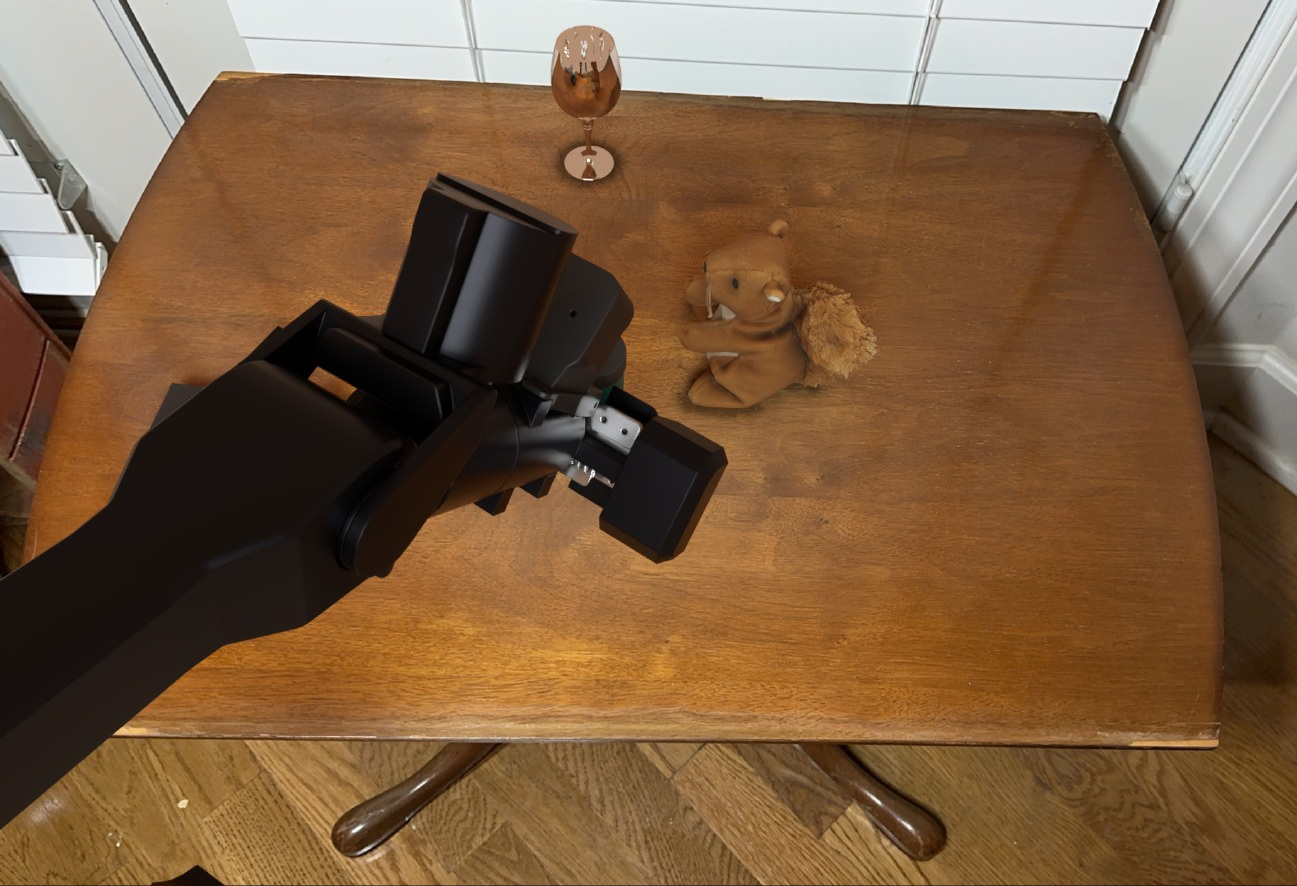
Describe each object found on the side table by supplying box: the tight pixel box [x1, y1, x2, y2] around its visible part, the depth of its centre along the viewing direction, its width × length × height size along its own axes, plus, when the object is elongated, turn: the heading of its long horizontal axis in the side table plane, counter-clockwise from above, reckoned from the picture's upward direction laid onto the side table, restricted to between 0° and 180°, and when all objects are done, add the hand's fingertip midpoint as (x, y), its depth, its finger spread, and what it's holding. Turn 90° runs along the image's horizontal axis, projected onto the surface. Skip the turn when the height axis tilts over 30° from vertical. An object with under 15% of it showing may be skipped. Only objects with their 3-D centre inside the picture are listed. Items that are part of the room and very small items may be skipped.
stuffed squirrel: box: [679, 218, 878, 409], centre depth 65 cm, size 10×14×13 cm
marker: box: [575, 337, 628, 463], centre depth 53 cm, size 3×3×14 cm
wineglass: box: [550, 24, 623, 182], centre depth 77 cm, size 6×6×12 cm
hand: (608, 403), depth 54 cm, fingers closed on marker, 3 cm apart
